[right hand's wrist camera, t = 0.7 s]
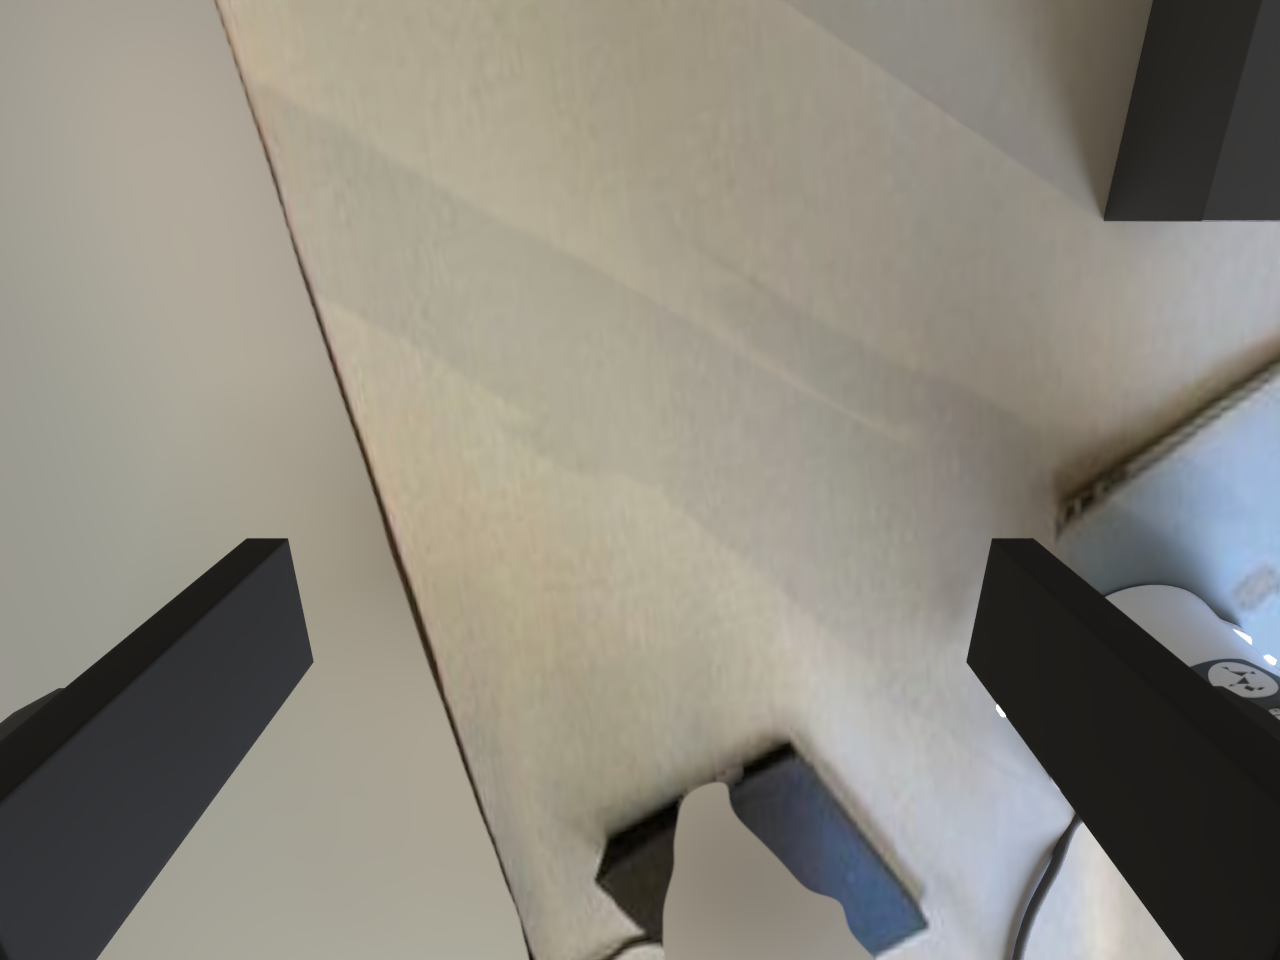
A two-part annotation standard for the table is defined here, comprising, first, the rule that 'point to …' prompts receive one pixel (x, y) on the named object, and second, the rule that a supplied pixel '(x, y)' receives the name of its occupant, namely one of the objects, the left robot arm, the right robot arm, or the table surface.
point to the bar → (1203, 116)
